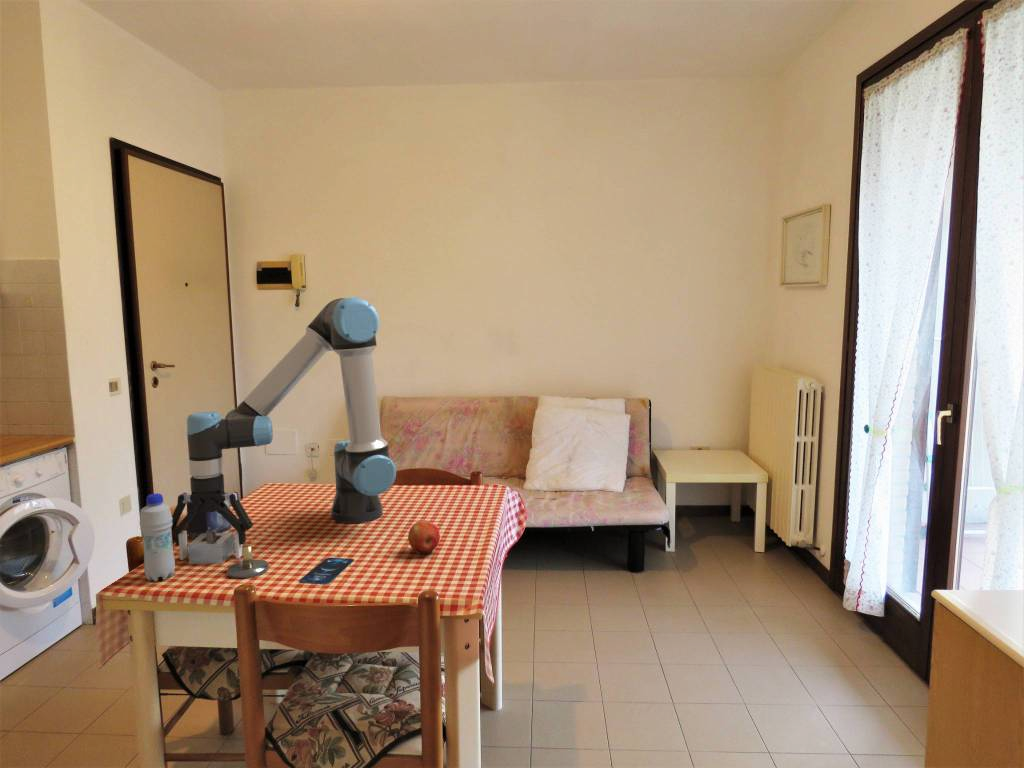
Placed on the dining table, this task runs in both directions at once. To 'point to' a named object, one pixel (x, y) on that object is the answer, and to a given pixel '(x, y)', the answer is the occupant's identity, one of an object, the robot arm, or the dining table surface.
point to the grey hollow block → (211, 549)
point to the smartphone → (326, 571)
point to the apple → (423, 537)
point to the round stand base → (247, 565)
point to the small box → (206, 521)
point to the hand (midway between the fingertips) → (211, 557)
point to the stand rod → (211, 535)
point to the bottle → (157, 538)
